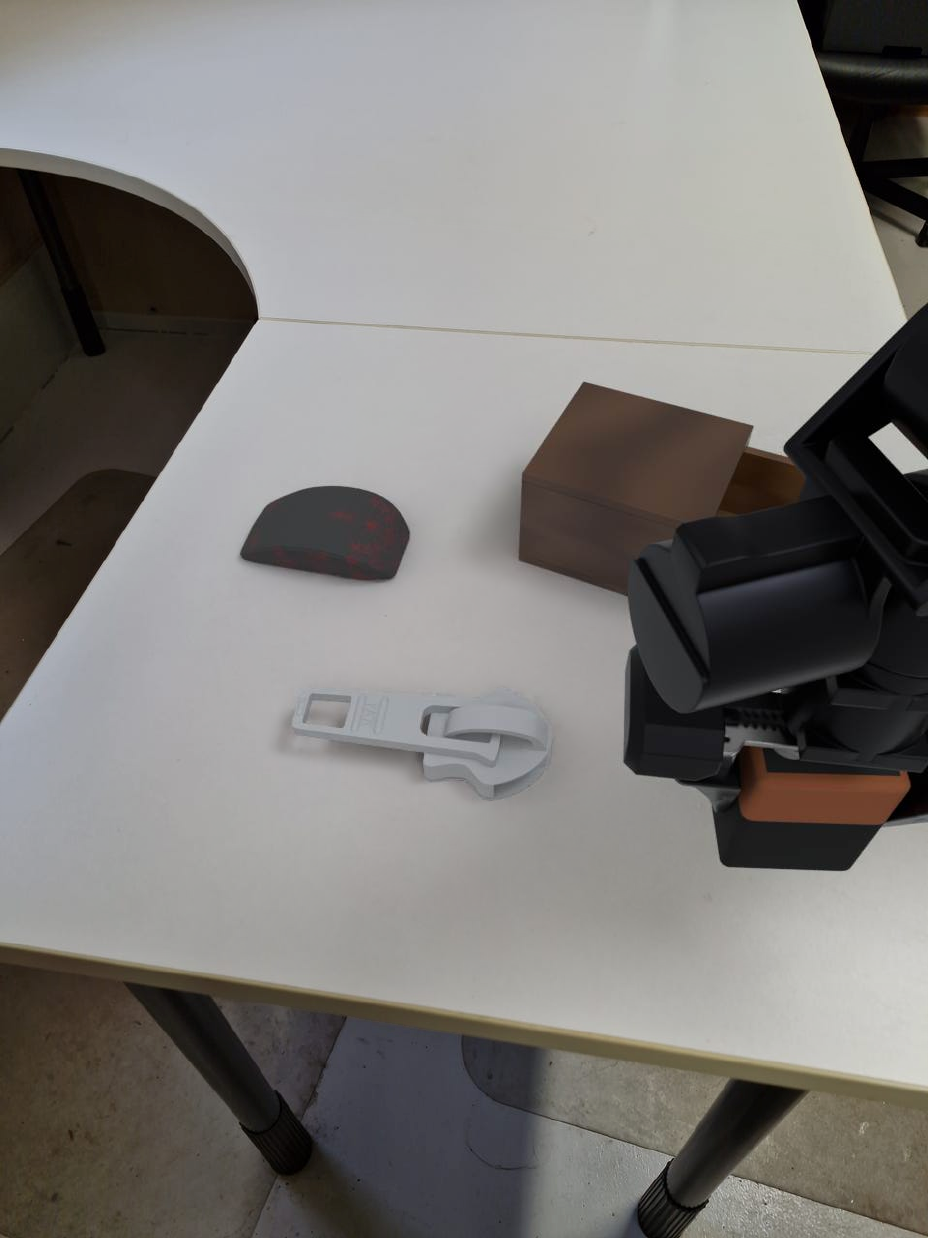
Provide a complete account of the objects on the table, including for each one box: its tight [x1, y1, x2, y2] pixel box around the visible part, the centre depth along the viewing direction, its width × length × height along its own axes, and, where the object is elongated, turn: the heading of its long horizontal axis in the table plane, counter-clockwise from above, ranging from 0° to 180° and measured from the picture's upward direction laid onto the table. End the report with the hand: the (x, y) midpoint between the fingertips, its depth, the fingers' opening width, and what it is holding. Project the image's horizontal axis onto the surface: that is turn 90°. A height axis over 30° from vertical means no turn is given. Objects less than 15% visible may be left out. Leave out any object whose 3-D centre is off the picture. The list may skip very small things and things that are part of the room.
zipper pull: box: [291, 686, 554, 801], centre depth 60 cm, size 8×18×4 cm, turn 82°
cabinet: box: [518, 381, 755, 597], centre depth 71 cm, size 15×13×10 cm
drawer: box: [716, 445, 805, 516], centre depth 67 cm, size 18×12×8 cm, turn 64°
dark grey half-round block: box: [239, 485, 411, 580], centre depth 73 cm, size 8×14×4 cm, turn 77°
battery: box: [710, 746, 911, 872], centre depth 42 cm, size 4×7×10 cm, turn 87°
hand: (790, 811), depth 44 cm, fingers closed on battery, 7 cm apart
